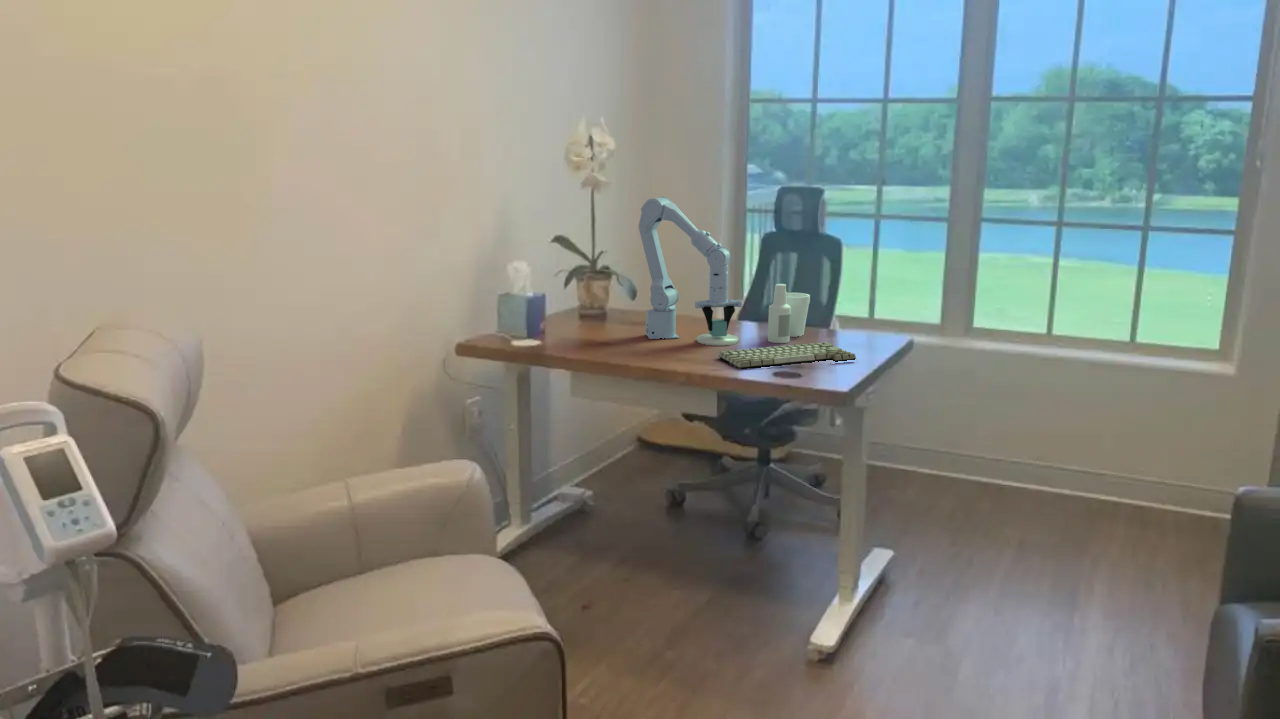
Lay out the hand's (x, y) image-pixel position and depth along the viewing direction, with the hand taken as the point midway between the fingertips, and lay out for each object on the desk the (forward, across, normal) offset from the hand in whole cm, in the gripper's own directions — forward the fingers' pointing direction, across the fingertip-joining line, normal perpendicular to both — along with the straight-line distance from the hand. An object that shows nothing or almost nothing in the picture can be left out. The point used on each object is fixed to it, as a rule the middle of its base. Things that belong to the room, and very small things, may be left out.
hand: (717, 330), depth 318 cm
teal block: (+2, 0, 0) cm, 2 cm away
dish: (+4, 0, 0) cm, 4 cm away
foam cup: (+4, +27, +6) cm, 28 cm away
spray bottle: (+4, +19, -3) cm, 20 cm away
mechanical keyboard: (+4, +13, -28) cm, 31 cm away
